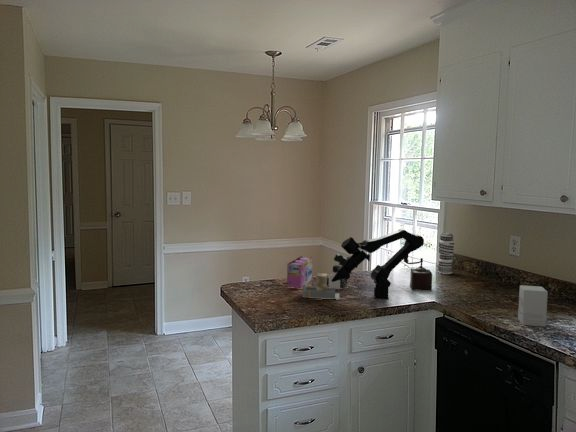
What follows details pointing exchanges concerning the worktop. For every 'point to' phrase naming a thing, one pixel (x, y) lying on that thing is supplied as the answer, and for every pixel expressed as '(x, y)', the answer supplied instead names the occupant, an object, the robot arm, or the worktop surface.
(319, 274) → the beige cube with disc
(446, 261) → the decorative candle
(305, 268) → the gum box
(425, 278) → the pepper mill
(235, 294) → the worktop surface
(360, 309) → the worktop surface
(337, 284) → the medicine bottle
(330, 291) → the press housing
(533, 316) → the supplement box
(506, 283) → the worktop surface
